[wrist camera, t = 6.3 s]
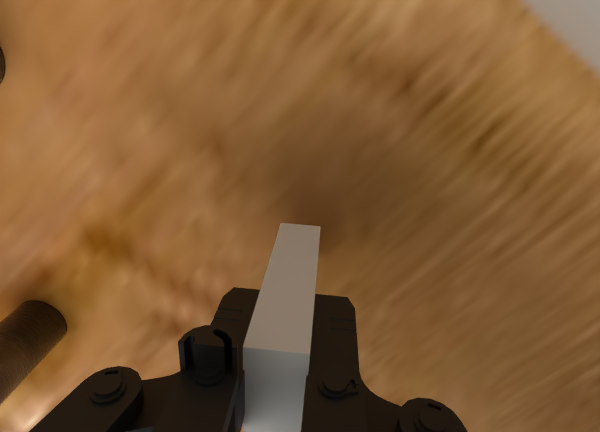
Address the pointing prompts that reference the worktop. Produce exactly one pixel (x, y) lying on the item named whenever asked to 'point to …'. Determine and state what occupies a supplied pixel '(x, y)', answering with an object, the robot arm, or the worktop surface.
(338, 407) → the robot arm
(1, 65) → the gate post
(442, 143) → the worktop surface
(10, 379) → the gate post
